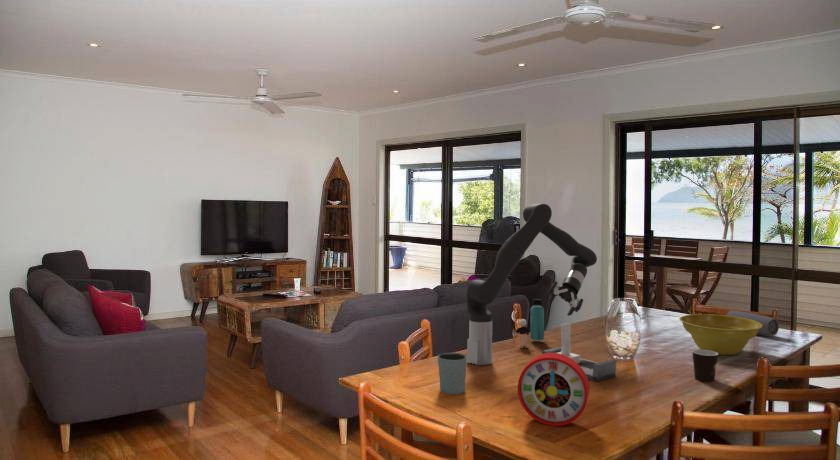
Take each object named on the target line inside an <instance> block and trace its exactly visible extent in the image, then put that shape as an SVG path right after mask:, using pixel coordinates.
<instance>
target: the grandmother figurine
mask: <svg viewBox="0 0 840 460" xmlns="http://www.w3.org/2000/svg"><path fill="white" fill-rule="evenodd" d="M518 324H519V326H520V327H517V328H516V329H515V332H514V336H515V337H516V336H517V335H518V349H519V348H520V349H523V348H525V349H528V348H529V344H528V343H529V342H528V336H529V337H530V336H531V333H530V328H528V327H526V325H527V320H526V319H524V318H521V319H519V322H518Z"/></svg>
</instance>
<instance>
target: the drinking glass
mask: <svg viewBox="0 0 840 460" xmlns="http://www.w3.org/2000/svg"><path fill="white" fill-rule="evenodd" d="M437 364H438V374H439V375H438V376H439V390H440V393H442V392H443V393H442V394H445V393H446V394H445V395H452V394H456V395H461V393H462V394H464V393H466V378H467V377H466V376H467V375H466V373H467V364H468V362H467V355H466V354H464V353H460V352H444V353H440V354H438V355H437ZM463 392H464V393H463Z"/></svg>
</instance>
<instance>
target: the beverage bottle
mask: <svg viewBox="0 0 840 460" xmlns="http://www.w3.org/2000/svg"><path fill="white" fill-rule="evenodd" d="M542 303H543V302H542V298H533V299H532V304H533V305H532V306H531V307H530V310H529V311H530V317H529V319H530V321H529V324H530V325H529V326H530V328H529V331H530V333H531V336H529V338H530V339H531V340H533V341H543V340H544V339H545V309H544V307H543V306H541V305H542Z"/></svg>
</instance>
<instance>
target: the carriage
mask: <svg viewBox="0 0 840 460" xmlns="http://www.w3.org/2000/svg"><path fill="white" fill-rule="evenodd" d="M560 325H561V328H560V330H561V331H560V333H561V334H560V337H561V338H560V347H561V352H558V353H559V354H563V355H566V356H568V357H570V358H571V359H573V360H574V361H576V362H577V363H580V358H581V355H580V354H577V353H574V352H571V333H572V332H571V329H572V328H571V327H572V326H571V324H570V323H561V324H560Z"/></svg>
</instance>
